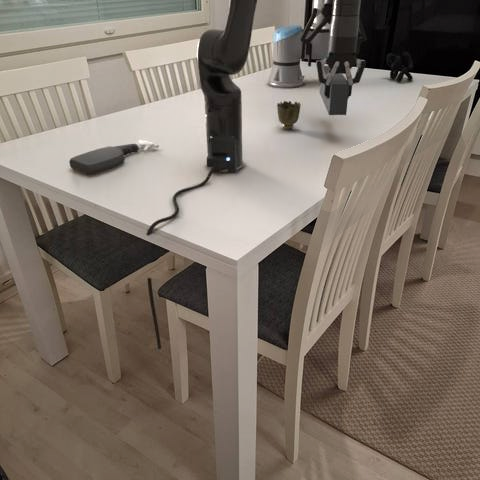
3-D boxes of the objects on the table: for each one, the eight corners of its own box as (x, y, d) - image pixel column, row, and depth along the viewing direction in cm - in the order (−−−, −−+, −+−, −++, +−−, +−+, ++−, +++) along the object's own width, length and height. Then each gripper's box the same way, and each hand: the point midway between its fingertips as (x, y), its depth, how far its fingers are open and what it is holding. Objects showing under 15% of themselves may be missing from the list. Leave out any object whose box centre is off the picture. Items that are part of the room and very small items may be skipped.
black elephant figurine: (400, 92, 202) (376, 71, 205) (417, 76, 202) (392, 56, 205) (405, 81, 191) (380, 59, 194) (423, 64, 191) (397, 42, 194)
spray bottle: (67, 168, 120) (139, 144, 136) (91, 178, 114) (163, 151, 130) (65, 157, 118) (137, 134, 134) (89, 167, 112) (162, 142, 128)
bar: (346, 115, 128) (349, 84, 123) (328, 115, 128) (331, 84, 123) (334, 93, 149) (336, 65, 145) (319, 93, 150) (321, 66, 145)
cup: (272, 130, 144) (273, 105, 139) (281, 123, 149) (282, 99, 145) (294, 133, 141) (295, 108, 136) (302, 126, 146) (304, 102, 142)
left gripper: (318, 35, 117) (313, 101, 126) (373, 35, 116) (364, 101, 125) (315, 32, 123) (311, 94, 132) (367, 31, 123) (359, 94, 132)
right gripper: (377, -13, 133) (368, 63, 144) (294, -11, 134) (291, 63, 146) (383, -12, 127) (373, 67, 138) (295, -10, 128) (292, 68, 139)
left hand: (337, 97), depth 129 cm, fingers closed on bar, 5 cm apart
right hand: (330, 65), depth 142 cm, fingers open, 13 cm apart
